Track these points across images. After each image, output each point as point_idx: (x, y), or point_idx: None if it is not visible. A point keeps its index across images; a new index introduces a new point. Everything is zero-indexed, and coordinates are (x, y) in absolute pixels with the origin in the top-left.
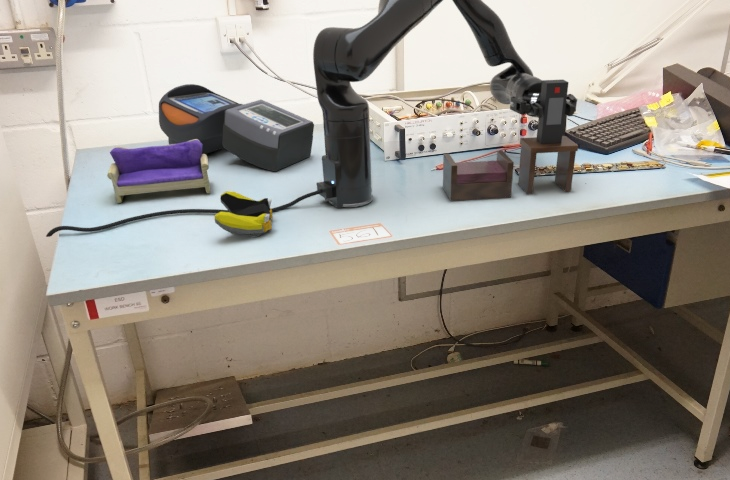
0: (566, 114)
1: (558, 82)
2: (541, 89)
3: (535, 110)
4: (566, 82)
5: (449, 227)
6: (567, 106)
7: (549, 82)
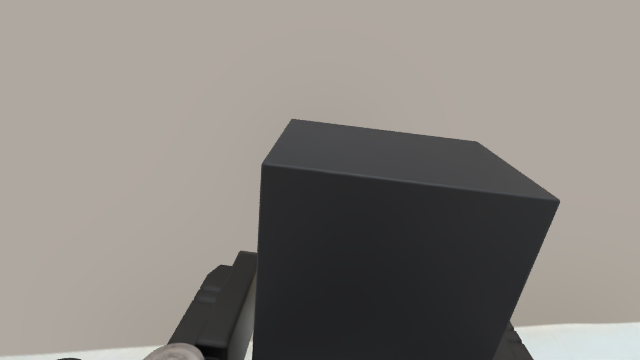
0: (248, 341)
1: (377, 130)
2: (517, 287)
3: None
4: (308, 122)
5: (574, 340)
6: (251, 295)
7: (458, 144)
